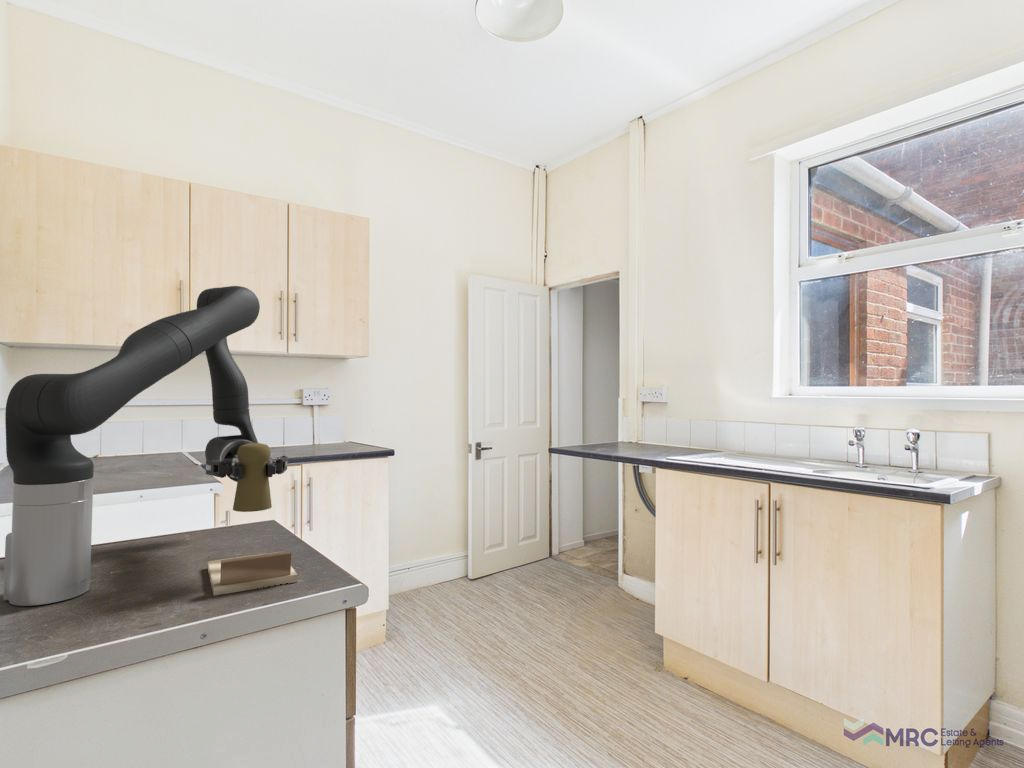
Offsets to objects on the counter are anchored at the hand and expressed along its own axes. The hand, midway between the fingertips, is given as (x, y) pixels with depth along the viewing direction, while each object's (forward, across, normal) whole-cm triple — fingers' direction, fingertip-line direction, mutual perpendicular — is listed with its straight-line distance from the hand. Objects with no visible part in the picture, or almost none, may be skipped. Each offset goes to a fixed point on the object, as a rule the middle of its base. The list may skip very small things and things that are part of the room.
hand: (255, 471), depth 90 cm
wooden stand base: (-2, 0, +18) cm, 18 cm away
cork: (-3, 0, +7) cm, 7 cm away
